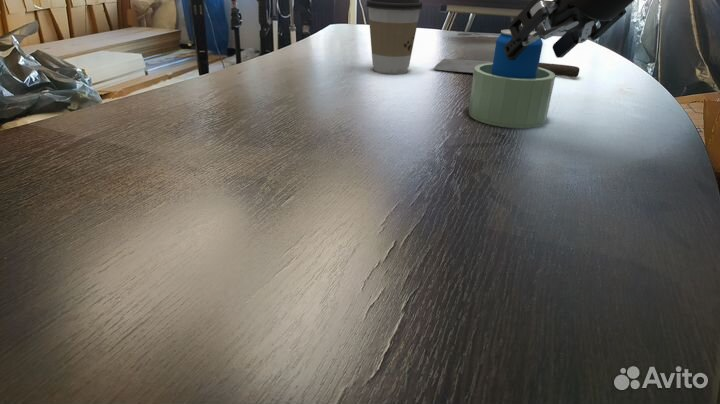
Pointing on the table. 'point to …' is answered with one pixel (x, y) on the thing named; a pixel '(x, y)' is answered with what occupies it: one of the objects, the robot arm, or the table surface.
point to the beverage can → (522, 65)
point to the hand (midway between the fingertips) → (532, 53)
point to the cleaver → (469, 65)
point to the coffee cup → (392, 33)
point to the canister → (510, 98)
